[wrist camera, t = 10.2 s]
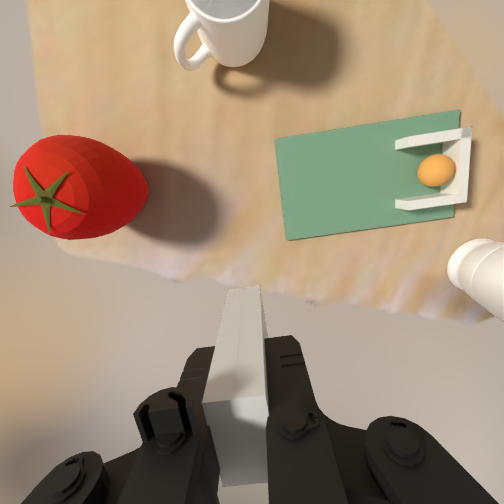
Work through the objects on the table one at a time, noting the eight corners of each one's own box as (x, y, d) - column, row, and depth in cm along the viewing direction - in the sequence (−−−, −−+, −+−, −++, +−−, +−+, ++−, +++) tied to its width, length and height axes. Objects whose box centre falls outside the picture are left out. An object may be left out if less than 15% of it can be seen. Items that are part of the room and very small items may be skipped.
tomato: (76, 222, 38) (-23, 245, 25) (69, 140, 35) (-48, 115, 22) (161, 230, 39) (110, 258, 25) (161, 150, 35) (103, 131, 22)
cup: (280, 30, 32) (292, -37, 22) (214, 107, 34) (197, 77, 24) (232, -29, 30) (221, -130, 20) (166, 55, 33) (128, 1, 23)
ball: (410, 159, 35) (426, 156, 31) (442, 153, 35) (462, 148, 31) (412, 189, 36) (428, 189, 32) (443, 183, 35) (463, 182, 32)
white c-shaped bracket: (395, 140, 34) (409, 136, 31) (452, 131, 34) (472, 126, 31) (395, 207, 37) (408, 210, 34) (448, 200, 36) (466, 202, 33)
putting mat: (274, 139, 35) (274, 139, 34) (456, 110, 34) (459, 109, 33) (286, 239, 39) (286, 240, 38) (450, 216, 37) (453, 217, 37)
